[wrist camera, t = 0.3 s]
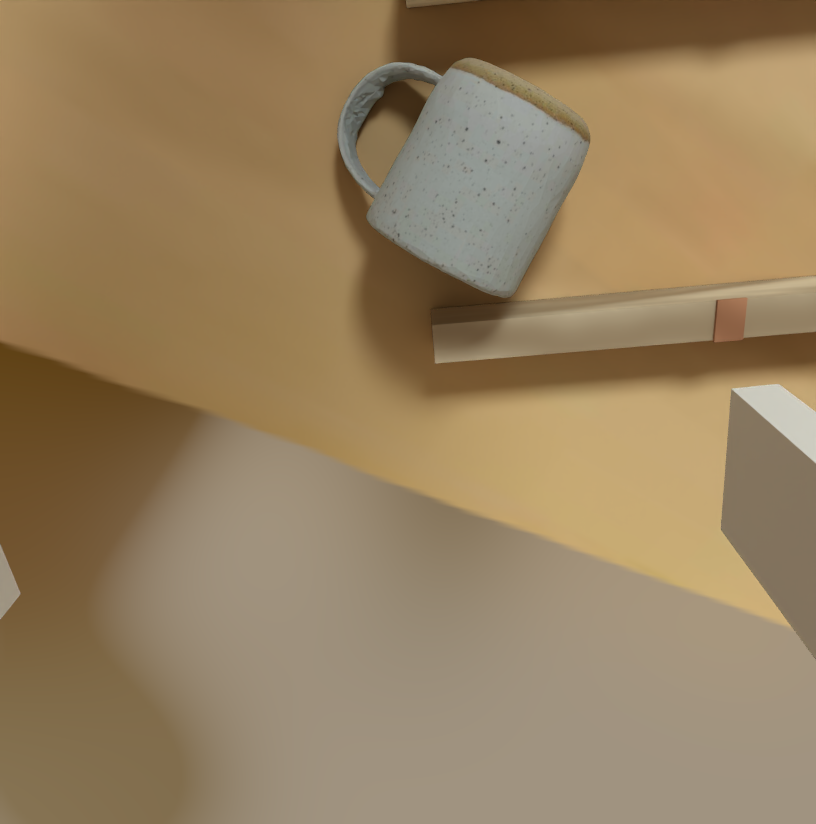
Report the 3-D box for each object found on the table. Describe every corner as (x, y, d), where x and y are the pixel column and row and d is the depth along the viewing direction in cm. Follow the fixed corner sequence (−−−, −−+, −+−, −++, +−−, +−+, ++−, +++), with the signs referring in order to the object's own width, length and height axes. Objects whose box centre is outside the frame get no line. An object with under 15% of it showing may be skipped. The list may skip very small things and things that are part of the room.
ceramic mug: (583, 128, 34) (626, 132, 27) (500, 280, 37) (518, 319, 30) (384, 18, 32) (373, -10, 25) (314, 185, 35) (285, 204, 28)
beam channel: (393, -157, 29) (389, -207, 24) (960, -222, 28) (1070, -288, 24) (433, 345, 38) (436, 380, 33) (866, 309, 37) (933, 338, 32)
